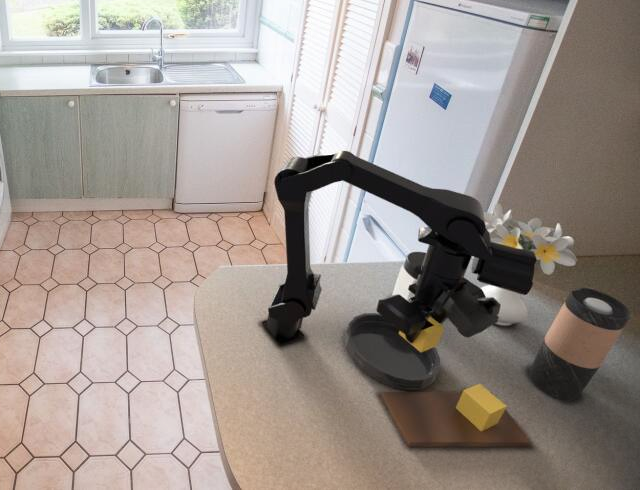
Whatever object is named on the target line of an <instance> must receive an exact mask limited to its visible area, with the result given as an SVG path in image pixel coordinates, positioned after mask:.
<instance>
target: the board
mask: <svg viewBox="0 0 640 490" xmlns="http://www.w3.org/2000/svg"><path fill="white" fill-rule="evenodd" d="M489 392H490V393H491V394H493V393H492V391H489ZM462 393H463V391H421V392H420V391H391V392H390V391H383V392H381V394H380V400H381V401H382V403H383V404H384V406H385V408H386V410H387V411H388V413H389V415H390V417H391V419H392V421H393V423H394V424H395V426H396V428H397V429H398V431H399V433H400V435H401V437H402V438H403V441H404V442H405V444H406V446H407V447H408V448H409V447H410V448H412V447H413V448H414V447H415V448H416V447H417V448H419V447H420V448H424V447H425V448H426V447H427V448H430V447H432V448H435V447H437V448H442V447H444V448H445V447H448V448H450V447H461V448H463V447H467V448H469V447H470V448H471V447H476V448H478V447H482V448H483V447H486V448H487V447H491V448H492V447H496V448H497V447H506V448H507V447H530V445H531V443H532V441H531V440H530V438H529V437H528V436H527V435H526V433H525V432H524V431H523V429H522V428H521V427H520V426H519V424H517V422H516V421H515V420H514V419H513V417H512V416H511V414H510V413H509V412H508V411H507V409H505V411H504V412H503V414H502V416H501V418H500V420H499V422H498V424H496V425H494V426H492V427H490V428H488V429H486V430H483V431H480V430H479V429H478V428H477V427H476V426H475V425H474V424H472V423H471V422H470V421H469V420H468V419H467V418H466V417H465V416H464V415H463V414H462V413H461V412H459V411H458V410H457V409H456V406H457V404H458V402H459V400H460V397H461V395H462Z"/></svg>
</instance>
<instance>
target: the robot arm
mask: <svg viewBox="0 0 640 490" xmlns="http://www.w3.org/2000/svg"><path fill="white" fill-rule="evenodd" d="M338 182H345V183H347V184H349V185H351V186H352V187H353V186H354V187H356V188H358V189H360V190H362V191H365V192H366V193H369V194H371V195H372V196H375V197H377V198H379V199H382V200H383V201H386V202H388V203H390V204H392V205H394V206H396V207H399V208H401V209H403V210H405V211H407V212H409V213H411V214H413V215H414V216H416V217H417V218H418V219H420V220H421V221H422V223H424V224H425V225H426V226H425V227H420V228H419V229H418V237H417V241H418V242H419V243H422V244H425V245H428V246H427V249H426V252H425V253H426V255H425V258H424V261H423V264H421V265H418V266H416V267H415V270H414V271H415V272H416V273H418V274H419V276H418V279H417V282H416V283H414V284H411V285H409V288H408V290H409V291H410V292H412V293H413V294H414V295H415V296H414V297H411V298H409V301H410V302H409V301H407V300H406V299H405V298H403V297H402V296H401V295H399V294H398V295H392V294H391V295H389V296H387V297H386V296H385V297H383V298H381V299H378V302H377V305H376V313H378V314H381V315H382V316H383V317H384V318H385V319H386V320H388V321H389V322H390V323H391V324H392V325H394V326H395V327H396V328H397V329H398V330H400V331H401V332H402V333H404V334H405V336H406V339H407V340H408V341H409V342H410V343H414V341H415V340H416V338H417V337H418V335H419V333H420V332H421V330H425V329H427V328H429V327H432V326H434V325H433V324H432V323H431V322H429V321H428V318H429V317H432V318H433V319H434V320H436V321H437V322H438V323H440V324H441V325H442V326H443V324H444V323H445V322H446V321H447V320H449V321H450V323H452V325H453V326H454V327H455V328H456V329H457V332H458V333H459V334H460V335H461V336H463V337H465V338H471V337H473V336H476V335H477V334H481V333H482V332H483V331H485V330H486V329H488V328H490V327H491V326H493V325H494V324H495V323H497V322H498V320H497V319H498V318H499V317H498V316H497V315H498V314H499V310H500V306H501V305H500V303H499V302H498V301H497V300H496V299H495V298H493V297H492V298H486V296H485V294H484V292H483V290H482V289H481V287H480V286H478V285H476V284H475V283H473V282H471V281H470V280H468V279H467V278H466V277H465V275H466V273H467V269H468V268H469V264H470V263H471V259H472V257H473V259H472V263H471V274H474V275H477V276H476V281H478V282H479V283H483V284H485V285H492V286H495V287H499V288H502V289H506V290H509V291H512V292H516V293H519V294H521V296H522V295H523V296H527V295H528V294H529V293H530V291H531V290H532V287H533V285H534V281H533V279H534V275H535V266H536V263H537V261H538V260H537V258H536V255H535V252H533V251H530V250H526V249H518V248H513V247H509V246H506V245H502V244H498V243H494V242H491V235H490V234H489V231H488V230H487V229H486V226H485V225H486V222H485V219H484V212H485V211H484V209H483V206H482V204H481V202H480V201H479V200H477V199H476V198H474V197H473V196H471V195H469V194H468V195H467V194H464V193H461V192H457V191H454V190H450V189H447V188H446V189H445V188H432V187H428V186H425V185H422V184H420V183H418V182H415V181H414V180H412V179H409V178H407V177H405V176H402V175H400V174H398V173H395V172H394V171H390V170H388V169H386V168H384V167H381V166H379V165H377V164H374V163H373V162H370V161H368V160H366V159H363V158H361V157H358V156H356V155H355V154H354V153H353V152H351V151H349V150H340V151H336V152H332V153H322V154H321V153H320V154H314V155H311V156H307V157H302V156H293V157H290V158H288V159H287V160H286V161H285V163H284V164H283V166H282V167H281V168H280V169H279V171H278V172H277V174H276V175H275V177H274V181H273V183H274V189H275V193H276V197H277V200H278V202H279V204H280V206H281V207H282V208H283V213H284V230H285V231H284V232H285V233H284V234H285V250H286V251H285V254H286V272H287V273H286V278H285V281H284V282H283V283H280V284H279V285H278V287H277V289H276V291H275V294H274V295H273V298H272V300H271V302H270V304H269V306H268V308H267V309H268V313H267V314H268V315H267V319H265V320H262V321H261V326H262V327H263V328H264V330H265V332H267V333H268V334H269V336H270V337H271V338H272V340H273V341H274V342H275V343H276V344H277V345H278V346H284V345H288V344H291V343H292V342H297V341H299V340H302V339H304V338H305V333H304V332H302V330H301V329H302V324H303V321H304V319H305V318H307V317H310V315H312V312H313V310H314V311H315V310H316V307H317V305H318V302H319V299H320V297H321V293H322V290H323V288H322V285H321V278H322V273H321V274H320V273H314V272H313V270H312V267H311V250H310V248H311V246H310V214H309V212H310V211H309V204H310V200H311V196H312V192H314V191H317V190H320V189H322V188H325V187H327V186H329V185H332V184H334V183H338Z"/></svg>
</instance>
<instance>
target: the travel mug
mask: <svg viewBox="0 0 640 490" xmlns="http://www.w3.org/2000/svg"><path fill="white" fill-rule="evenodd" d="M630 318H631V311H630V309H629V308H628V307H627V306H626V305H625V304H624V303H623V302H621V301H620V300H619V299H616V298H615V297H613V296H612V295H609V294H607V293H605V292H602V291H599V290H596V289H592V288H588V287H580V288H579V289H576V290H575V289H574V290H572V289H571V290H569V294H568V295H567V297H566V299H565V300H564V302H563V304H562V306H561V308H560V309H559V311H558V313H557V315H556V316H555V318H554V321H553V322H552V324H551V326H550V328H549V329H548V331H547V333H546V335H545V337H544V338H543V341H542V343H541V344H540V347H539V349H538V351H537V353H536V356H535V358H534V360H533V362H532V364H531V366H530V368H529V371H528V373H529V378H530V379H531V381H532V382H533V384H535V386H536V387H538V388H539V389H540V390H542V391H543V392H544V393H546V394H548V395H550V396H552V397H554V398H557V399H559V400H563V401H574V400H577V399H578V398H579V396H580V395H581V394H582V392H583V391H584V390H585V389H586V387H587V386H588V384H589V383H590V381H591V380H592V378H593V377H594V375H595V374H596V373H597V371H598V370H599V369H600V367H601V366H602V365H603V363H604V361H605V359H606V358H607V356H608V354H609V352H610V351H611V349H612V347H614V344H615V343H616V341H617V340H618V338H619V336H620V334H621V333H622V331H623V330H624V328H625V327H626V325H627V323H628V321H629V320H630Z"/></svg>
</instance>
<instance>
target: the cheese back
mask: <svg viewBox="0 0 640 490" xmlns="http://www.w3.org/2000/svg"><path fill="white" fill-rule="evenodd" d="M428 321H429V322H431V323H432V324H433V325H434V326H432V327H429V328H427V329H425V330H421V332H420V333H419V335H418V337H417V338H416V340H415V341H414V343H410V342H409V341H408V340H407V339H406V336H405V334H404V333H402V332H401V331H399V334H400V335H401V336H402V337H403V338H404V339H405V340H407V341H408V342H409V343H410V344H411V345H413V346H414V347H415V348H416V349H417V350H418V351H420V352H424V351H426V350H428V349H431V348H433V347H435V348H437V347H438V345H439V343H440V339H441V337H442V335H443V331H444V329H445V326H444V325H443V324H442V325H441V324H440V323H438V322H437V321H436V320H434V319H433V318H432V317H429V318H428Z"/></svg>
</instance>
